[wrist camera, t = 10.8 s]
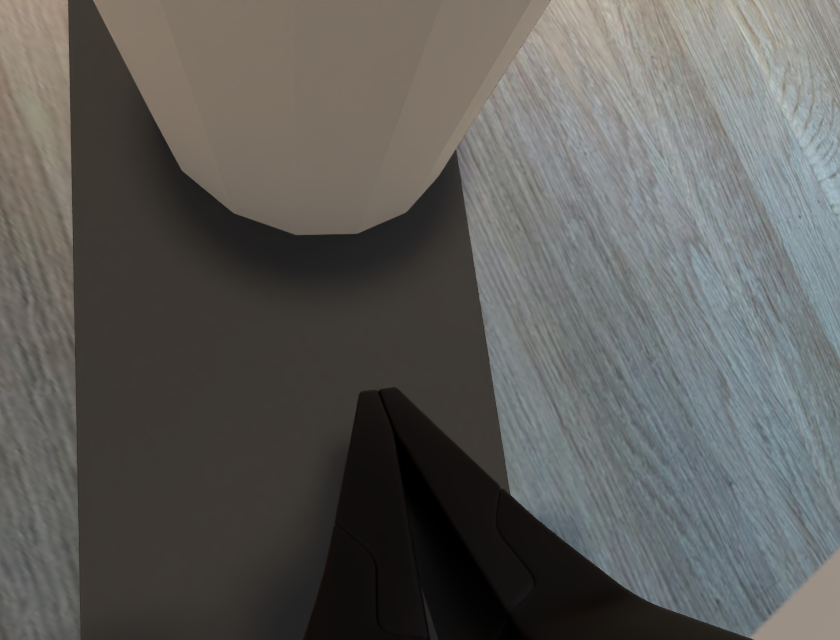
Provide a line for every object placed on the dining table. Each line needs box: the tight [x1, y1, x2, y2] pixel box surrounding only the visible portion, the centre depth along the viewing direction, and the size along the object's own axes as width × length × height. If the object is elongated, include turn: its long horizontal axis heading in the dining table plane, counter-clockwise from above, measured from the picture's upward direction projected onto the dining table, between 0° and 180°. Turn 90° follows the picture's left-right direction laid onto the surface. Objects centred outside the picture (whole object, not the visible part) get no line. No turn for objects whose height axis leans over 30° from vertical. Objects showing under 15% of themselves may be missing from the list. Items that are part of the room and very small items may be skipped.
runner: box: [68, 0, 510, 640], centre depth 18 cm, size 32×16×1 cm, turn 8°
